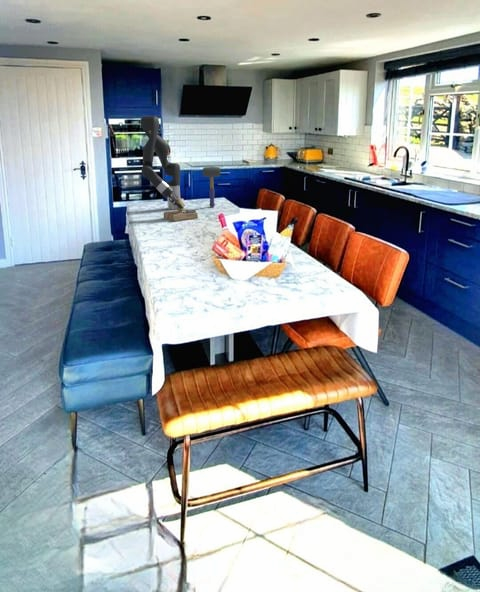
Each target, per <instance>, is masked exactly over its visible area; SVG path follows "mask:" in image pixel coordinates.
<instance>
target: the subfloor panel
mask: <svg viewBox="0 0 480 592" xmlns="http://www.w3.org/2000/svg"><path fill="white" fill-rule="evenodd" d="M186 210H188V209H187V208H186V209H185V208H184V210H183V213H178V210H177V209H176V210H169V211H164V212H163V219H166V220H169V221H172V222H174V223H175V222H181V221H189V220H195V219H196V220H197V219H199V215H198V214H199V213H198V212H197V211H196V212H195V213H186Z"/></svg>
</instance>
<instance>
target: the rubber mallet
mask: <svg viewBox="0 0 480 592" xmlns="http://www.w3.org/2000/svg"><path fill="white" fill-rule="evenodd" d="M202 176H203V177H204V178H209V207H210V208H215V205H216V203H215V188H214V178H216V177H217V178H219V177H221V168H220V167H219V166H207V167H204V166H203V168H202Z"/></svg>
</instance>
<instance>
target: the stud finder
mask: <svg viewBox="0 0 480 592" xmlns="http://www.w3.org/2000/svg"><path fill="white" fill-rule="evenodd" d="M195 212H197V210H196V208H189V209H187V210H186V213H195Z"/></svg>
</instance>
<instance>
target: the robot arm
mask: <svg viewBox="0 0 480 592" xmlns="http://www.w3.org/2000/svg"><path fill="white" fill-rule="evenodd" d="M140 125H141V128H142V130H143V132H144V133H145V135H146V136H147V138H148V140H147V142H146V143H145V144H144V146H143V149H142V150H143V151H142V167H141V175H142V176H143V177H145V178H146V179H147V180H148V181H149V182H150V183H151V184H152V186H154V188H156V190H158V192H159V193H160V194H161V195H162V196H163V197H164V199H167V208H168V210H170V211H177V207H176V206H178V207H179V208H180V209H182V208H183V206H182V205H181V204H180V203H179V202H178V201H177V199H179V198H181V187H180V185H181V167H180V166H181V165H180V164H179V163H177V162H176V163H175V162H169V160H168V156H169V146H168V144H167V143H166V141H165V139H164V138H162V137H161V136H160V135H159V134H158V133H159V130H160V129H159V128H160V120H159V118H158V116H156V115H143V116H142V117H141V118H140ZM154 153H155V154H156V155H157V157H158V159H159V162H160V164H161V166H162V170H163V173H164V174H165V175H166V176H169V177H172V179H171V180H168V181H167V182H165V181H164V180H163V178H162V177H160V176H159V174H157V172H155V170H154V169H153V167H154V165H153V164H154V163H153V162H154V157H155V156H154ZM185 206H186V204H184V207H185Z"/></svg>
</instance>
